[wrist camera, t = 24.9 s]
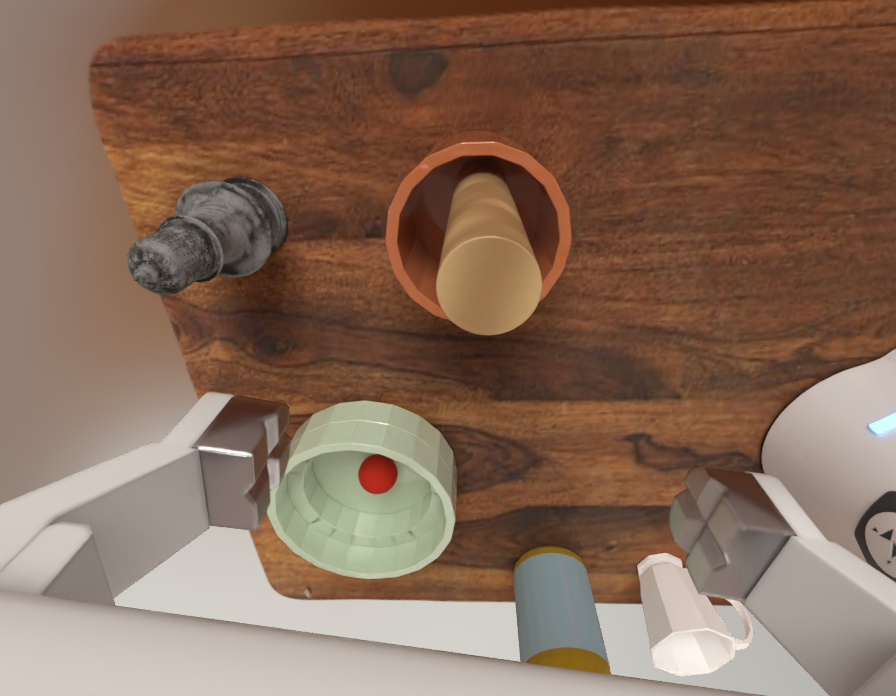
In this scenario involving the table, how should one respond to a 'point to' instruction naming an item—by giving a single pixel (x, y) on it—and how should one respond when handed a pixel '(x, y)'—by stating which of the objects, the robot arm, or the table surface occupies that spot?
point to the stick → (486, 255)
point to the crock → (429, 201)
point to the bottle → (557, 611)
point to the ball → (377, 474)
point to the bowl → (353, 508)
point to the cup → (684, 620)
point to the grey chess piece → (210, 236)
